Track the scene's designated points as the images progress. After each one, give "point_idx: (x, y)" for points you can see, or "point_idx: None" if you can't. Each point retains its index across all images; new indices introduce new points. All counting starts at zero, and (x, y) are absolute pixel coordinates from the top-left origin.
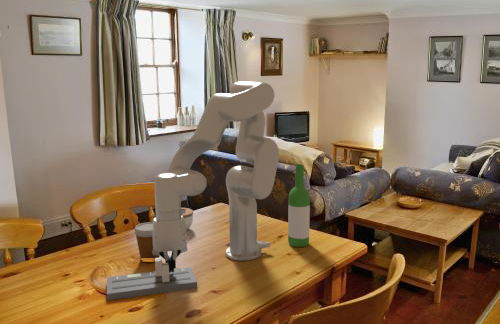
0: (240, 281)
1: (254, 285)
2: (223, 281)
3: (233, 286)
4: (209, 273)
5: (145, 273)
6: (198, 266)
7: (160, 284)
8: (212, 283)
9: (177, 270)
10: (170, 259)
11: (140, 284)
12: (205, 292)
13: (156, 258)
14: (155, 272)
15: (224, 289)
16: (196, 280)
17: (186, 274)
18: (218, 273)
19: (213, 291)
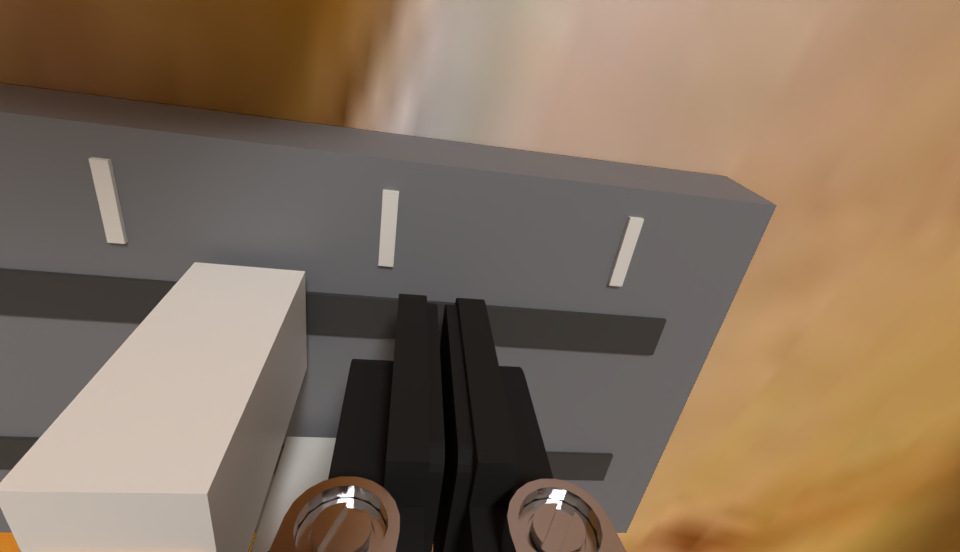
0: (934, 477)
1: (948, 537)
2: (842, 445)
3: (838, 518)
4: (867, 274)
5: (6, 149)
6: (917, 15)
7: (266, 499)
8: (750, 449)
9: (552, 246)
10: (447, 495)
11: (3, 456)
12: (626, 538)
13: (59, 513)
14: (188, 279)
15: (760, 535)
16: (633, 513)
17: (608, 384)
18: (930, 306)
19: (681, 539)
